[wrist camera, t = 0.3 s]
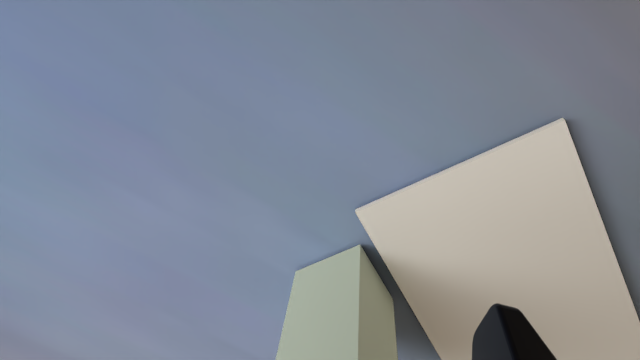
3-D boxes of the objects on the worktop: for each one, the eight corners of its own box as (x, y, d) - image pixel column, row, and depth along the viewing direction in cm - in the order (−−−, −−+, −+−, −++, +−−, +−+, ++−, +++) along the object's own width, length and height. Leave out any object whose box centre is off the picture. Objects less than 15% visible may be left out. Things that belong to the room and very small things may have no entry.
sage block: (330, 322, 27) (315, 474, 19) (295, 271, 26) (263, 410, 18) (392, 299, 26) (405, 449, 18) (360, 244, 25) (357, 380, 17)
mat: (491, 442, 30) (492, 447, 30) (355, 209, 24) (355, 212, 24) (665, 396, 28) (668, 400, 27) (562, 118, 21) (564, 119, 21)
